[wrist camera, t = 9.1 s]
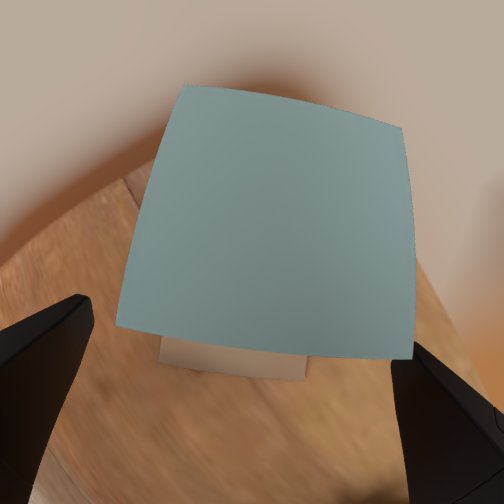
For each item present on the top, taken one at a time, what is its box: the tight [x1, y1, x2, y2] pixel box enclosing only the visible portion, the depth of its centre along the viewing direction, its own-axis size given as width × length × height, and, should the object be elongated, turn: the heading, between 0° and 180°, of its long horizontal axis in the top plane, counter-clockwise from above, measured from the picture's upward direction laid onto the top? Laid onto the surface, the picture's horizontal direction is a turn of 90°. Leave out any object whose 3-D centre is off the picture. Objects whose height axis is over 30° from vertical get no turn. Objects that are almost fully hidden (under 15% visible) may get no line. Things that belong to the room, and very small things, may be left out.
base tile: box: [158, 336, 307, 381], centre depth 19 cm, size 9×9×2 cm
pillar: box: [115, 85, 416, 359], centre depth 12 cm, size 5×5×14 cm
